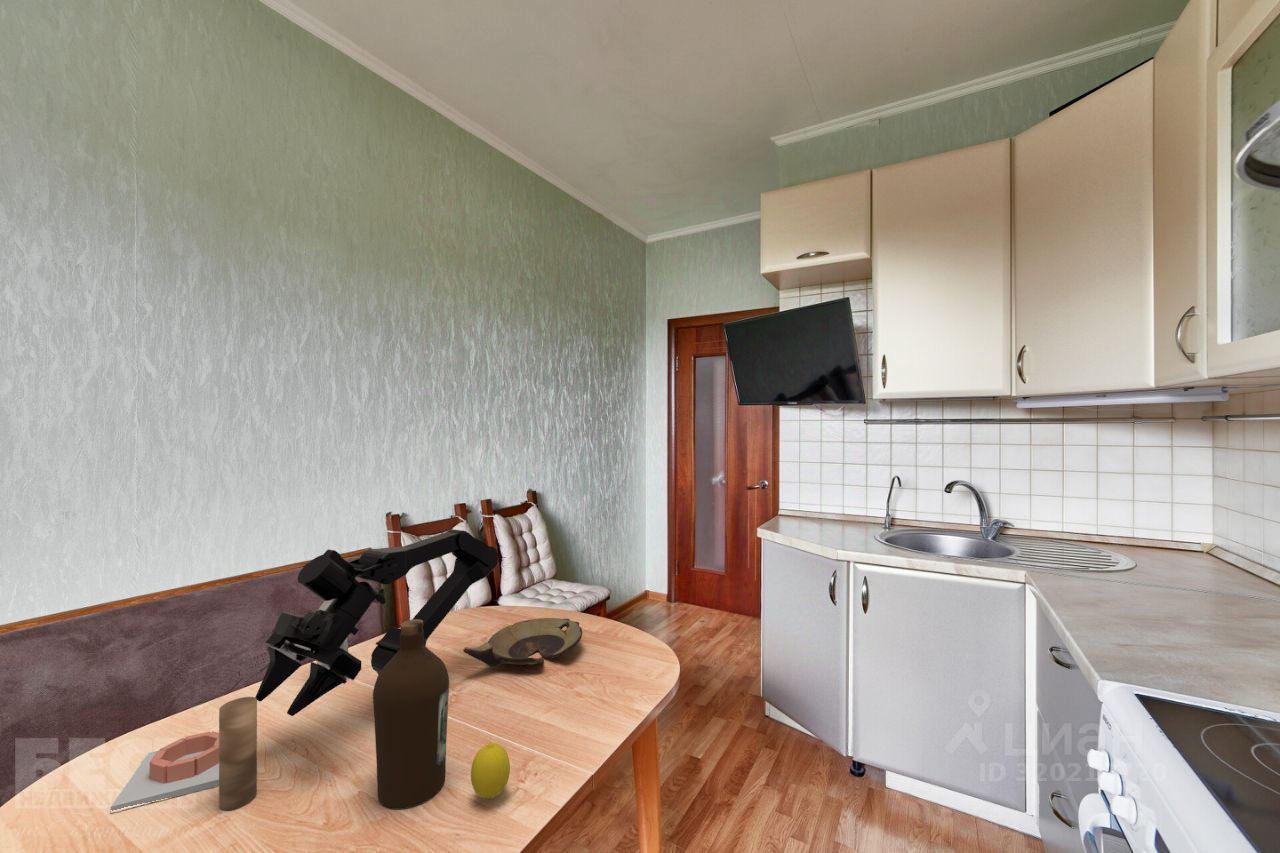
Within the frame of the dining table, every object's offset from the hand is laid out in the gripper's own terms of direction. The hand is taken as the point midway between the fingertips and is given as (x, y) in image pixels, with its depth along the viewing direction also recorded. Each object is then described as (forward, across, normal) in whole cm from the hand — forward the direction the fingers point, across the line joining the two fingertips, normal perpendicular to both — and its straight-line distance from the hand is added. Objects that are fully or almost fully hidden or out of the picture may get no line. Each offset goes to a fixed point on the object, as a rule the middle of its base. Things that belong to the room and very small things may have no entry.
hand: (273, 707), depth 80 cm
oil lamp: (-29, +5, +45) cm, 54 cm away
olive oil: (+2, +21, +15) cm, 25 cm away
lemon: (-1, +33, +17) cm, 37 cm away
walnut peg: (+11, 0, +5) cm, 12 cm away
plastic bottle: (-9, -25, +25) cm, 36 cm away
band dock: (+11, -15, +5) cm, 19 cm away
